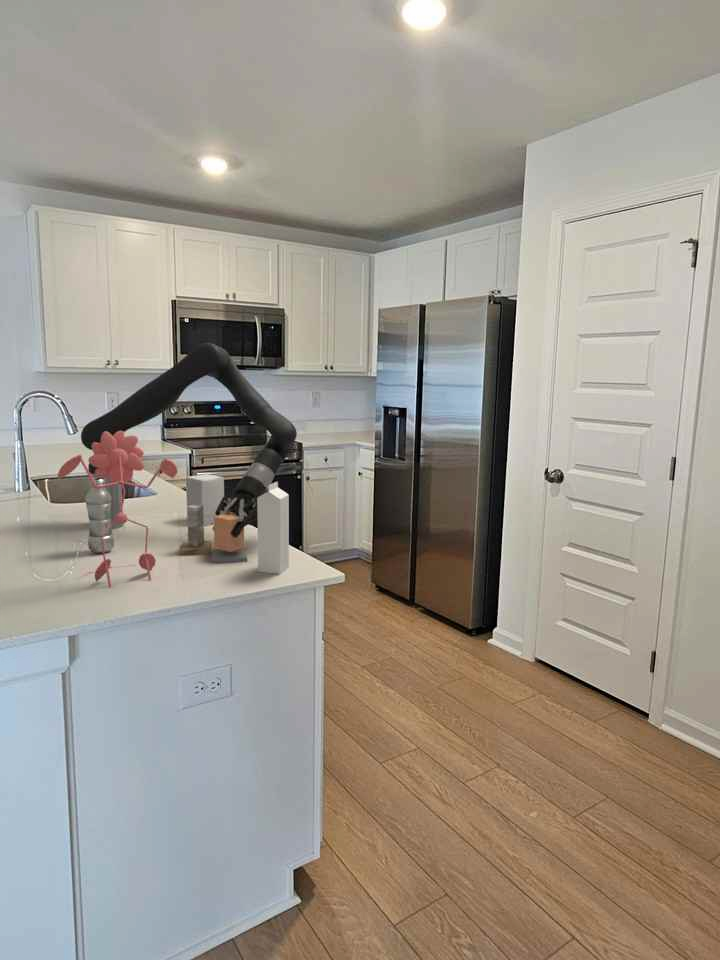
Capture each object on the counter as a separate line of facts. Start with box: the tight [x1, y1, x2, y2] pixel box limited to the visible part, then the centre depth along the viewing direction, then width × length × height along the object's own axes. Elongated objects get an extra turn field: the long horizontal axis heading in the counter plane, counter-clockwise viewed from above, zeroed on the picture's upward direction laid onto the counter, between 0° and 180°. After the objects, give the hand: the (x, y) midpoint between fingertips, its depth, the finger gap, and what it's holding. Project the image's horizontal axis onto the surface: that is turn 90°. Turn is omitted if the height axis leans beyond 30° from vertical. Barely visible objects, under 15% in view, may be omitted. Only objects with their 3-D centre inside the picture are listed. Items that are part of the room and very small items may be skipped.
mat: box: [211, 547, 248, 564], centre depth 165 cm, size 9×9×1 cm
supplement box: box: [185, 473, 225, 526], centre depth 201 cm, size 9×9×15 cm
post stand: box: [179, 505, 213, 556], centre depth 169 cm, size 11×11×12 cm
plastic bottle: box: [84, 478, 115, 554], centre depth 166 cm, size 6×7×20 cm
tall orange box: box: [213, 513, 245, 552], centre depth 164 cm, size 5×6×8 cm
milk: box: [257, 481, 290, 575], centre depth 154 cm, size 6×6×22 cm
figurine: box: [57, 431, 178, 588], centre depth 146 cm, size 15×26×35 cm, turn 126°
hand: (224, 533), depth 163 cm, fingers closed on tall orange box, 6 cm apart
